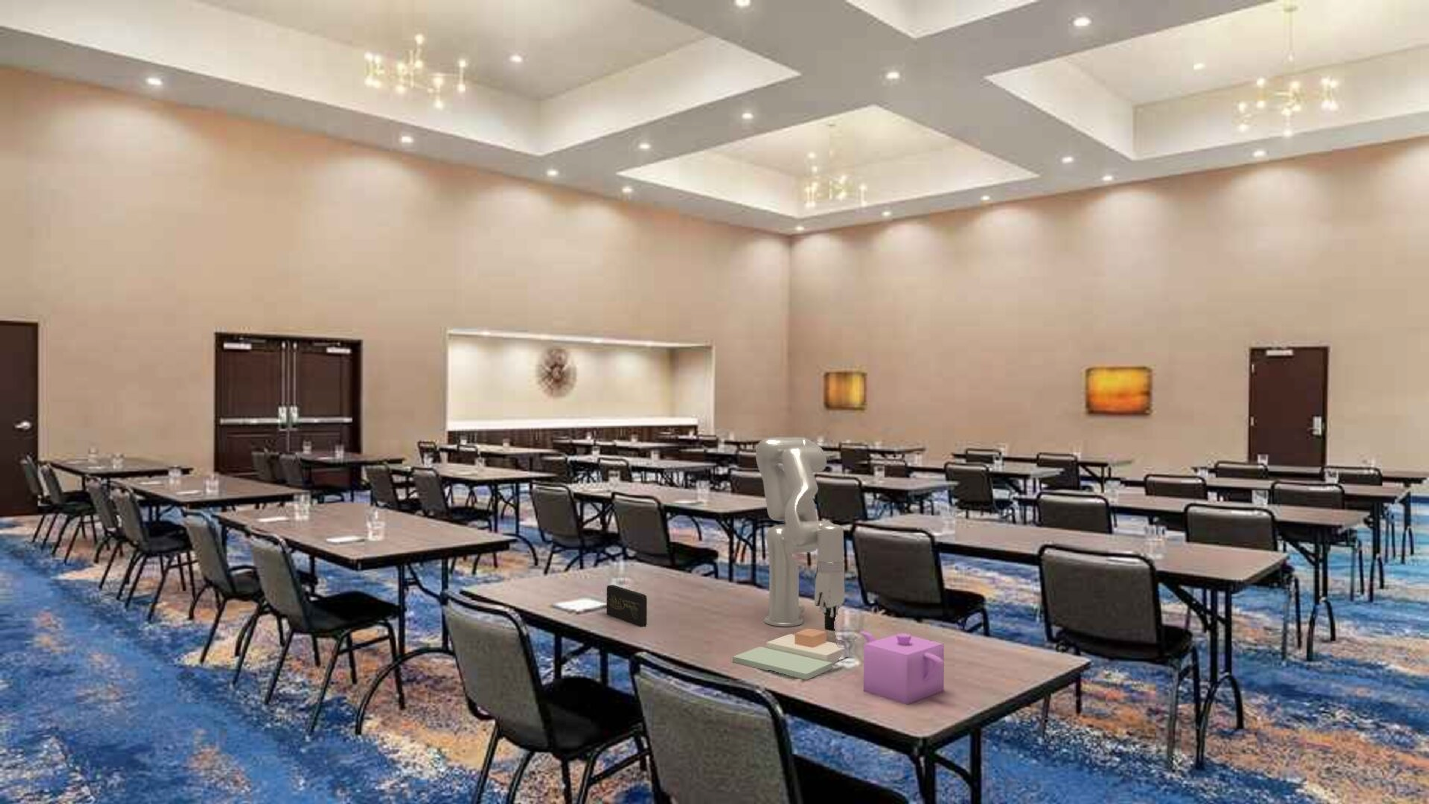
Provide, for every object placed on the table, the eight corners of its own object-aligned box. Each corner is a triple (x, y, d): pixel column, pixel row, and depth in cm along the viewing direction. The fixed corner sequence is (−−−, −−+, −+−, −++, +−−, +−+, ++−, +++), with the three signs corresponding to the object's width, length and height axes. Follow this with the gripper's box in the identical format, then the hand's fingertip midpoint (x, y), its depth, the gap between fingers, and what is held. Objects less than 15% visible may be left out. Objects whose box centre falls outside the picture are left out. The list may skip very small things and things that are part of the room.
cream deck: (790, 644, 257) (790, 633, 257) (849, 656, 244) (849, 646, 244) (766, 652, 248) (766, 642, 248) (826, 666, 235) (826, 655, 235)
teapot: (878, 672, 231) (878, 619, 231) (961, 696, 212) (961, 638, 212) (841, 684, 221) (841, 628, 221) (924, 710, 202) (924, 649, 202)
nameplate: (646, 626, 277) (646, 595, 277) (641, 627, 276) (641, 596, 276) (611, 614, 293) (611, 584, 293) (606, 614, 292) (606, 585, 292)
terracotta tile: (808, 638, 252) (808, 628, 252) (826, 642, 248) (826, 631, 248) (794, 643, 246) (794, 633, 246) (812, 647, 242) (812, 636, 242)
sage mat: (760, 651, 249) (760, 646, 249) (832, 668, 233) (832, 662, 233) (732, 662, 239) (732, 656, 239) (806, 679, 224) (806, 674, 224)
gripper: (832, 562, 263) (833, 623, 263) (805, 569, 252) (805, 632, 251) (854, 564, 259) (854, 627, 258) (828, 572, 247) (828, 637, 247)
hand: (830, 629), depth 255 cm, fingers closed
